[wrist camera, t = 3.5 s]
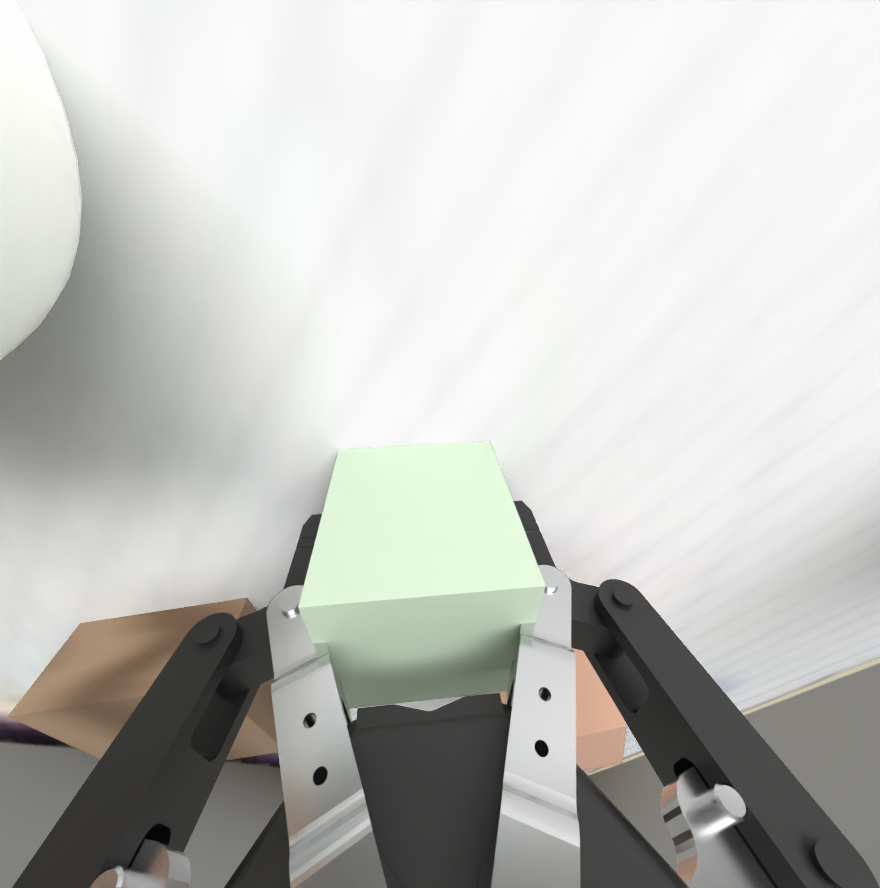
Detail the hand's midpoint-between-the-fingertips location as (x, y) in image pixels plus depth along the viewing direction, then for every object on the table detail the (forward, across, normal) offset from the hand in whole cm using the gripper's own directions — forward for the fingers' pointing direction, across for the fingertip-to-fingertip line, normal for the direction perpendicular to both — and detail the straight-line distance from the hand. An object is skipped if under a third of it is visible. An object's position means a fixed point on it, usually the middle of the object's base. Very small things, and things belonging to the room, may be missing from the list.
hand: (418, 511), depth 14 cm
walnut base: (+1, +12, +10) cm, 16 cm away
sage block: (+1, 0, 0) cm, 1 cm away
